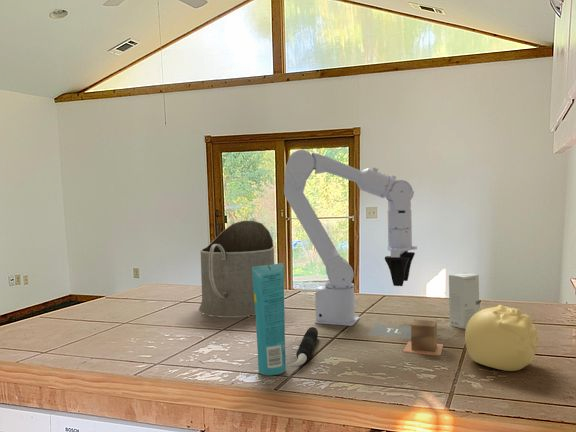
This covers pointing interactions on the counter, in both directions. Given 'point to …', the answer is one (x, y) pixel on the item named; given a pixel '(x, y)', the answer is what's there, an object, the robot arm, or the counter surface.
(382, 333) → the tile
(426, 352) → the pad
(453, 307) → the skincare box
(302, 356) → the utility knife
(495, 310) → the sculpture
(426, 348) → the walnut block
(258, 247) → the grey fabric basket
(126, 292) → the counter surface
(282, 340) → the tube
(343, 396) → the counter surface
